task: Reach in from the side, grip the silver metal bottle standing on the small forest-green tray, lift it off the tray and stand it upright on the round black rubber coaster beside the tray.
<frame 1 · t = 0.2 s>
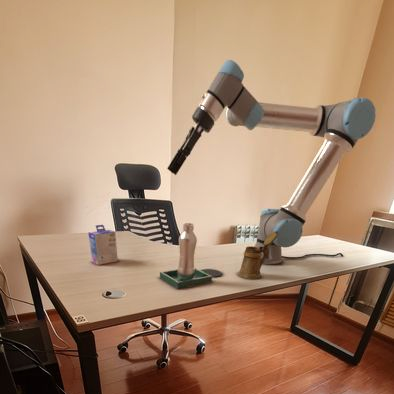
hand: (171, 171, 111), 35 cm above the table, tool tilted 35°, fingers open, 13 cm apart
wooden mug: (254, 275, 127), on the table
ink cartridge box: (105, 262, 130), on the table
coaster: (210, 273, 126), on the table
tray: (185, 280, 117), on the table
silver metal bottle: (185, 279, 117), resting on tray
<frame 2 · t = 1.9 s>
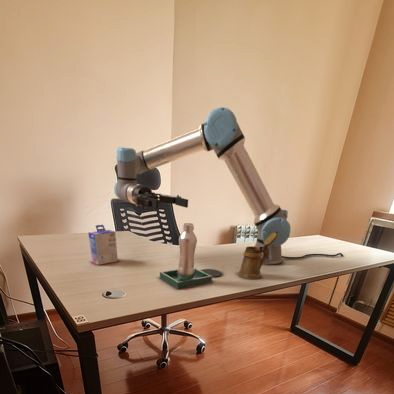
hand: (172, 204, 109), 25 cm above the table, tool horizontal, fingers open, 13 cm apart
nothing on the table moved.
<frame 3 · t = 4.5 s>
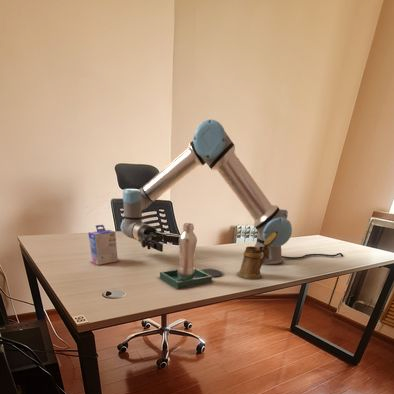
hand: (176, 245, 114), 12 cm above the table, tool horizontal, fingers open, 13 cm apart
nothing on the table moved.
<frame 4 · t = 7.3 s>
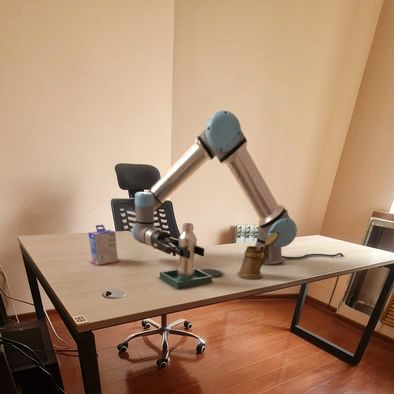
hand: (196, 253, 108), 11 cm above the table, tool horizontal, fingers closed on silver metal bottle, 6 cm apart
wooden mug: (254, 275, 127), on the table, touching arm
silver metal bottle: (185, 279, 117), resting on tray, touching gripper
everything else where it was.
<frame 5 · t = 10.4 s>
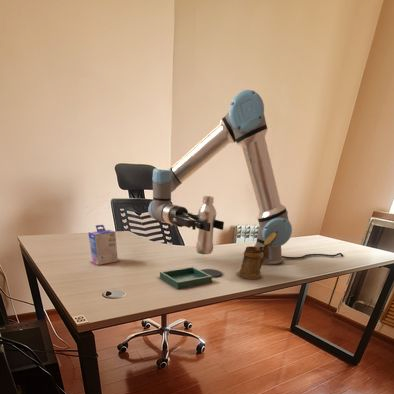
hand: (216, 226, 109), 20 cm above the table, tool horizontal, fingers closed on silver metal bottle, 6 cm apart
wooden mug: (254, 275, 127), on the table
silver metal bottle: (204, 254, 118), point 9 cm above the table, touching gripper
everything else where it was.
when the fingers open (11 cm above the table, at t = 13.8 s): silver metal bottle stays where it is, resting on coaster.
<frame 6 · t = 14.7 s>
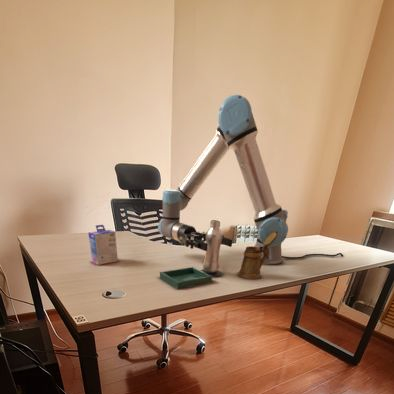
hand: (219, 245, 117), 12 cm above the table, tool horizontal, fingers open, 13 cm apart
silver metal bottle: (210, 273, 126), resting on coaster
everything else where it was.
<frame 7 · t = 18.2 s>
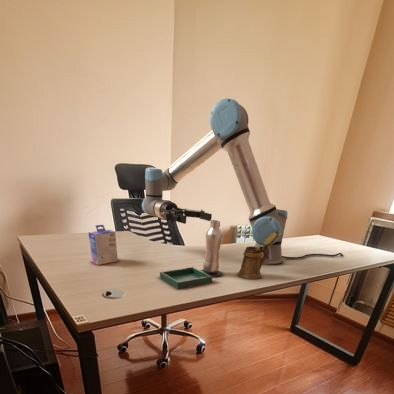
hand: (198, 218, 121), 20 cm above the table, tool horizontal, fingers open, 13 cm apart
nothing on the table moved.
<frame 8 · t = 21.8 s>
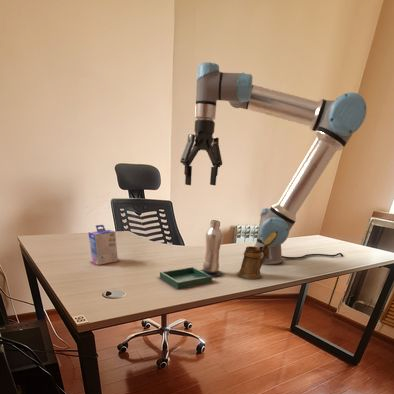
hand: (200, 185, 124), 31 cm above the table, tool pointing down, fingers open, 13 cm apart
nothing on the table moved.
at the end: silver metal bottle 0.1 cm off-centre on the coaster, point 0.2 cm above the coaster's base; silver metal bottle tilted 0°; silver metal bottle touching coaster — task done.
